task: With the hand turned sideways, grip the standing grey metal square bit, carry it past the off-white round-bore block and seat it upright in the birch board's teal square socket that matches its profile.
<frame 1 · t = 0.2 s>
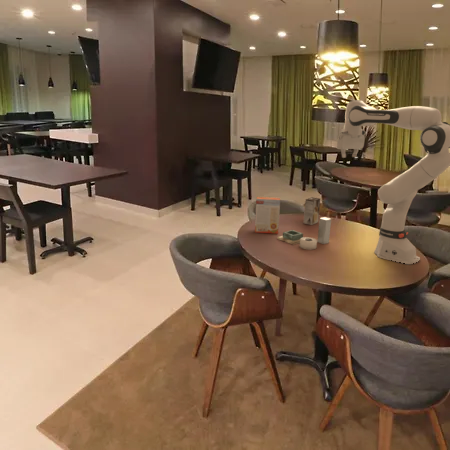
hand: (349, 157, 233), 47 cm above the table, tool pointing down, fingers open, 8 cm apart
square bit: (322, 242, 239), on the table
cracker box: (266, 232, 254), on the table
coffee box: (310, 223, 277), on the table
square socket board: (292, 239, 242), on the table
round bore block: (308, 246, 231), on the table
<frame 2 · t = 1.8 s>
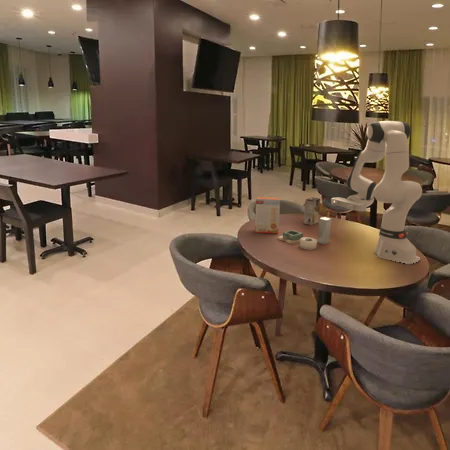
hand: (339, 205, 241), 20 cm above the table, tool horizontal, fingers open, 8 cm apart
nothing on the table moved.
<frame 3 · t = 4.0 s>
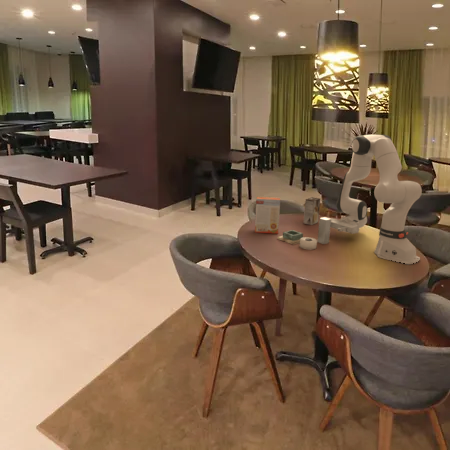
hand: (332, 227, 241), 7 cm above the table, tool horizontal, fingers open, 8 cm apart
nothing on the table moved.
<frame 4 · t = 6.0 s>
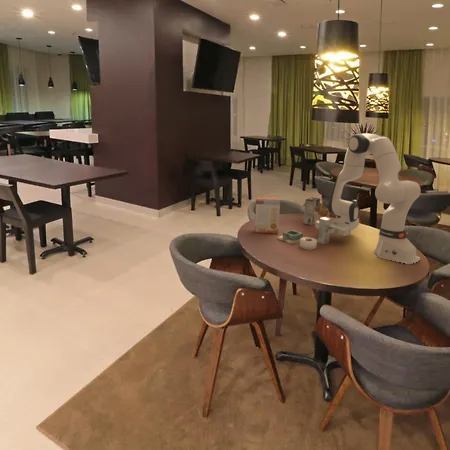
hand: (323, 230, 236), 8 cm above the table, tool horizontal, fingers closed on square bit, 4 cm apart
square bit: (322, 242, 239), on the table, touching gripper
everything else where it was.
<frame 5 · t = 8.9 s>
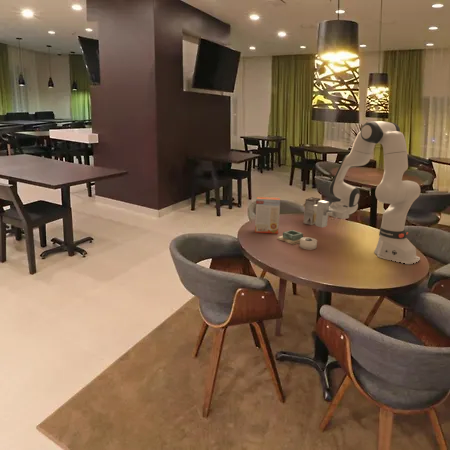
hand: (321, 213, 234), 17 cm above the table, tool horizontal, fingers closed on square bit, 4 cm apart
square bit: (321, 225, 237), point 10 cm above the table, touching gripper
everything else where it was.
when the fingers open (10 cm above the table, at t = 12.0 s): square bit drops 1 cm, resting on square socket board.
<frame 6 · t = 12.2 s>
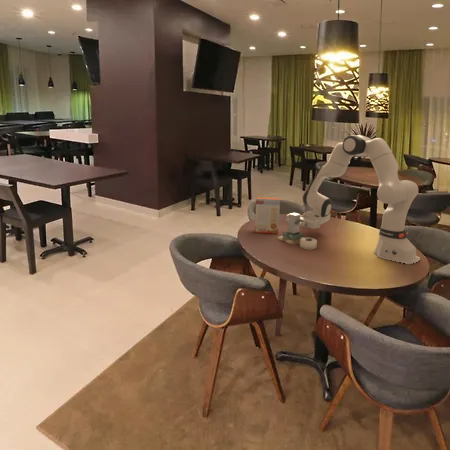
hand: (292, 222, 238), 10 cm above the table, tool horizontal, fingers open, 6 cm apart
square bit: (292, 237, 241), point 1 cm above the table, touching square socket board
everything else where it was.
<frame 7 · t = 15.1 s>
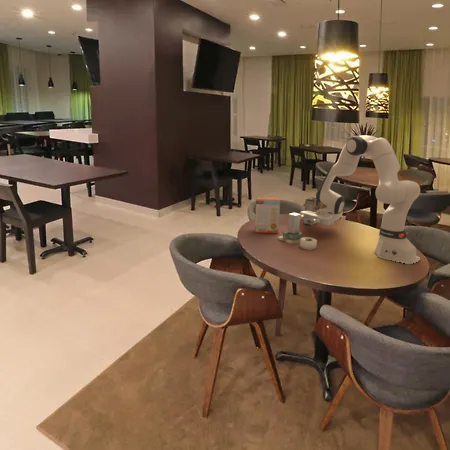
hand: (307, 219, 246), 10 cm above the table, tool horizontal, fingers open, 8 cm apart
nothing on the table moved.
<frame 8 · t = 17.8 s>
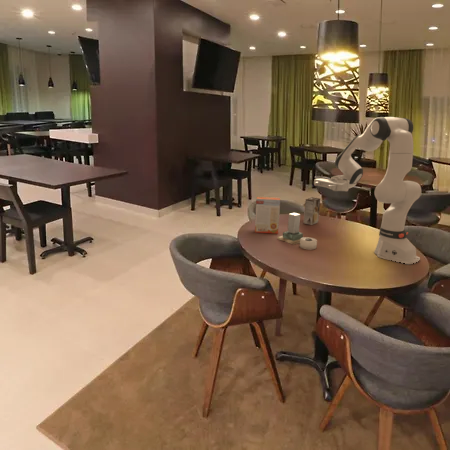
hand: (321, 185, 242), 30 cm above the table, tool horizontal, fingers open, 8 cm apart
nothing on the table moved.
at the end: square bit 0.1 cm off-centre on the square socket board, point 1.2 cm above the square socket board's base; square bit tilted 0°; the gripper is holding nothing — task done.
